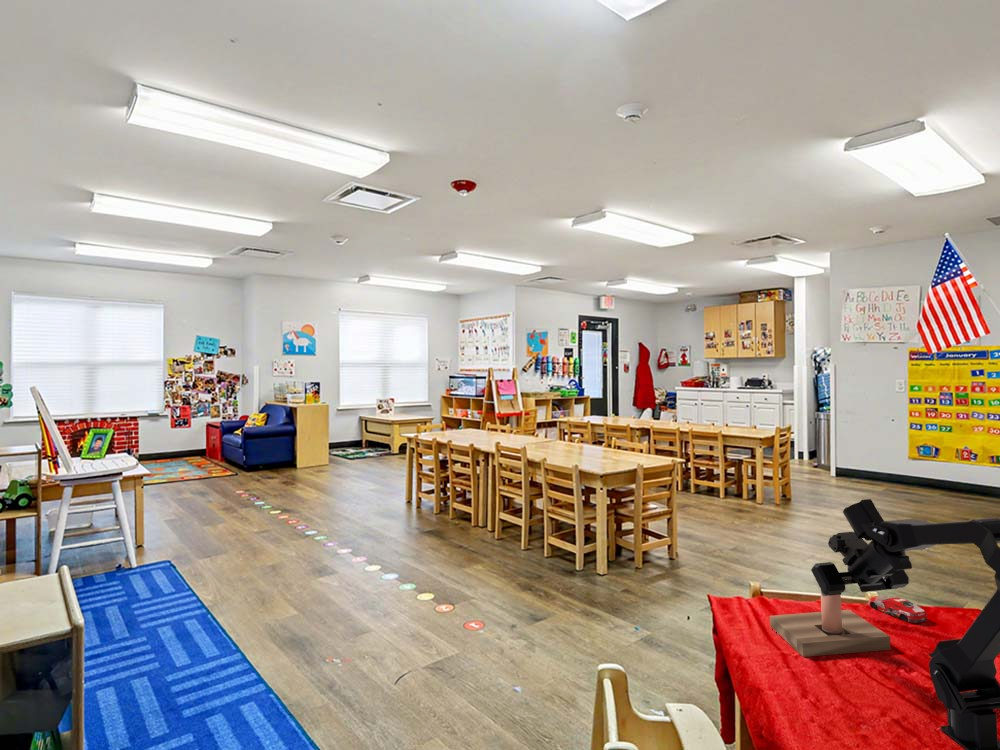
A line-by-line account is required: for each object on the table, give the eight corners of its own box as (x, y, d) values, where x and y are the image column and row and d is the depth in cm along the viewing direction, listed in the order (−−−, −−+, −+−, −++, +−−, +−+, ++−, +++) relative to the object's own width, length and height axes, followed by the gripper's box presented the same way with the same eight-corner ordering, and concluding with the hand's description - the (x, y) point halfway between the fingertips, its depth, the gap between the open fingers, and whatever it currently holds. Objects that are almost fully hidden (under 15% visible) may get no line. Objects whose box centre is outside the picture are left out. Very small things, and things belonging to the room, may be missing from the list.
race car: (864, 606, 152) (863, 591, 152) (879, 602, 153) (879, 587, 153) (914, 627, 139) (913, 610, 139) (930, 622, 141) (930, 606, 141)
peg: (843, 648, 131) (841, 586, 131) (822, 645, 133) (819, 584, 132) (842, 639, 135) (839, 579, 134) (821, 636, 136) (819, 577, 136)
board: (890, 649, 129) (889, 636, 129) (802, 656, 128) (802, 643, 128) (849, 621, 143) (848, 609, 143) (770, 628, 142) (769, 615, 142)
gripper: (896, 520, 125) (861, 554, 136) (814, 527, 123) (786, 561, 134) (928, 569, 117) (888, 601, 128) (842, 577, 115) (809, 609, 126)
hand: (841, 592), depth 130 cm, fingers open, 9 cm apart
